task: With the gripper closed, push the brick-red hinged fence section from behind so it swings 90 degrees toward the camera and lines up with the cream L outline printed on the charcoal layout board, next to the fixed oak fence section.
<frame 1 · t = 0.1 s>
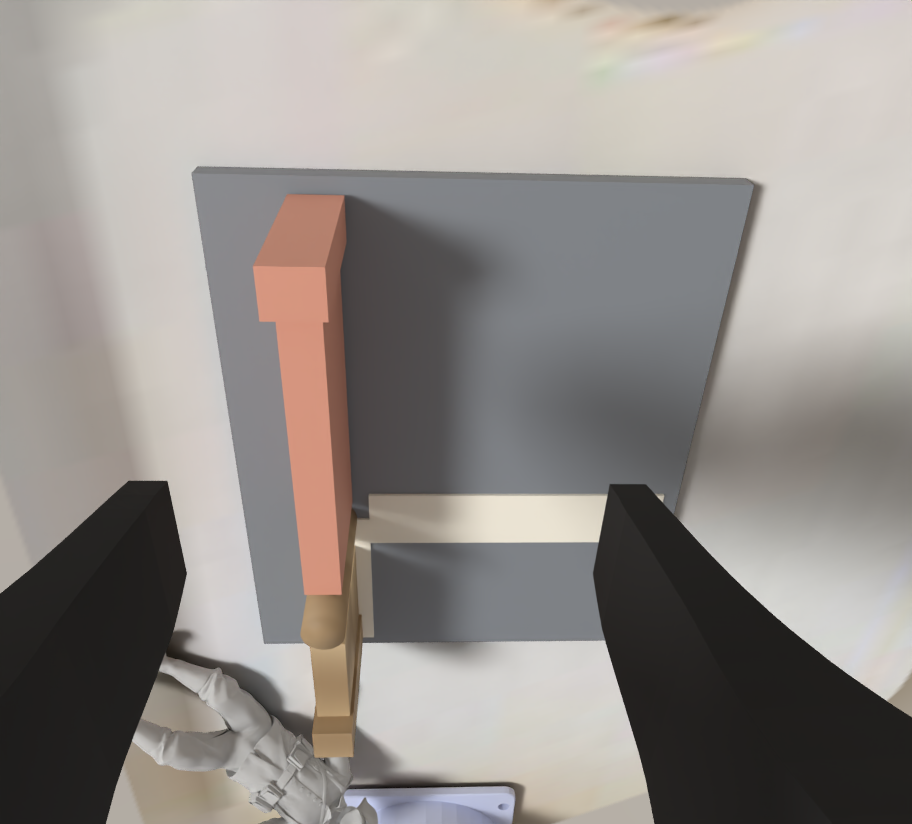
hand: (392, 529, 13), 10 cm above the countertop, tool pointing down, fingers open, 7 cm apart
soldier figure: (260, 705, 31), on the countertop
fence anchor: (343, 584, 26), resting on layout board
fence panel: (318, 410, 20), point 3 cm above the countertop, hinge at 0.0°
layout board: (463, 444, 24), on the countertop
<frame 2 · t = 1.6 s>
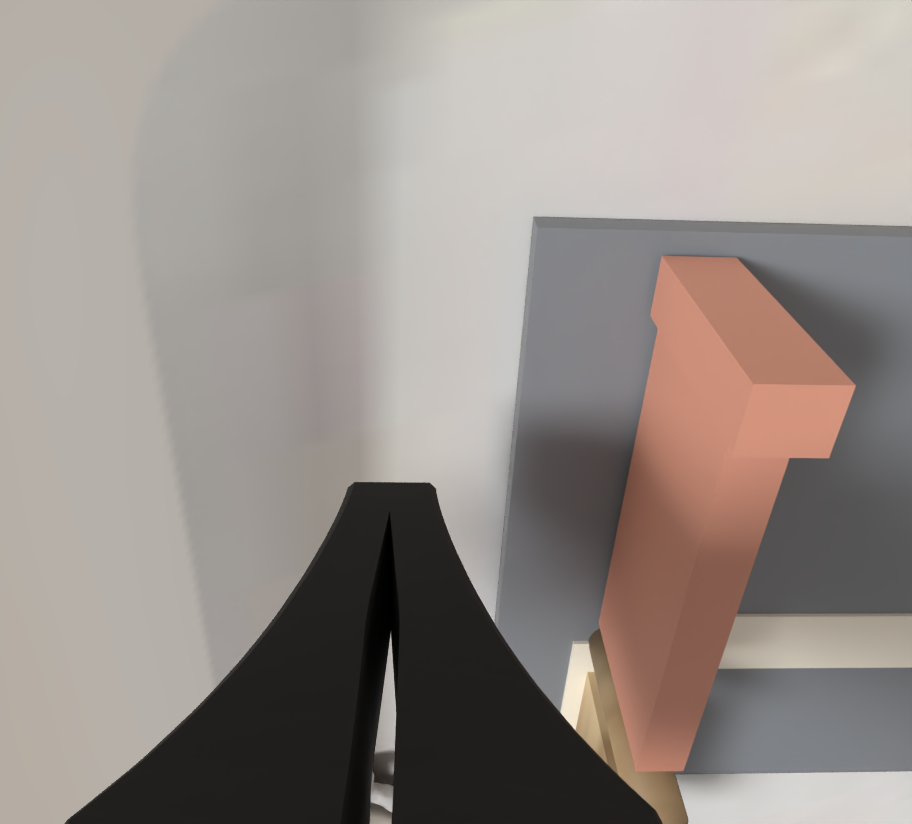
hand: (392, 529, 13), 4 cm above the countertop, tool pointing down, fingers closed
soldier figure: (470, 823, 26), on the countertop
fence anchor: (595, 713, 22), resting on layout board
fence panel: (682, 540, 15), point 3 cm above the countertop, hinge at 0.0°
layout board: (777, 553, 19), on the countertop
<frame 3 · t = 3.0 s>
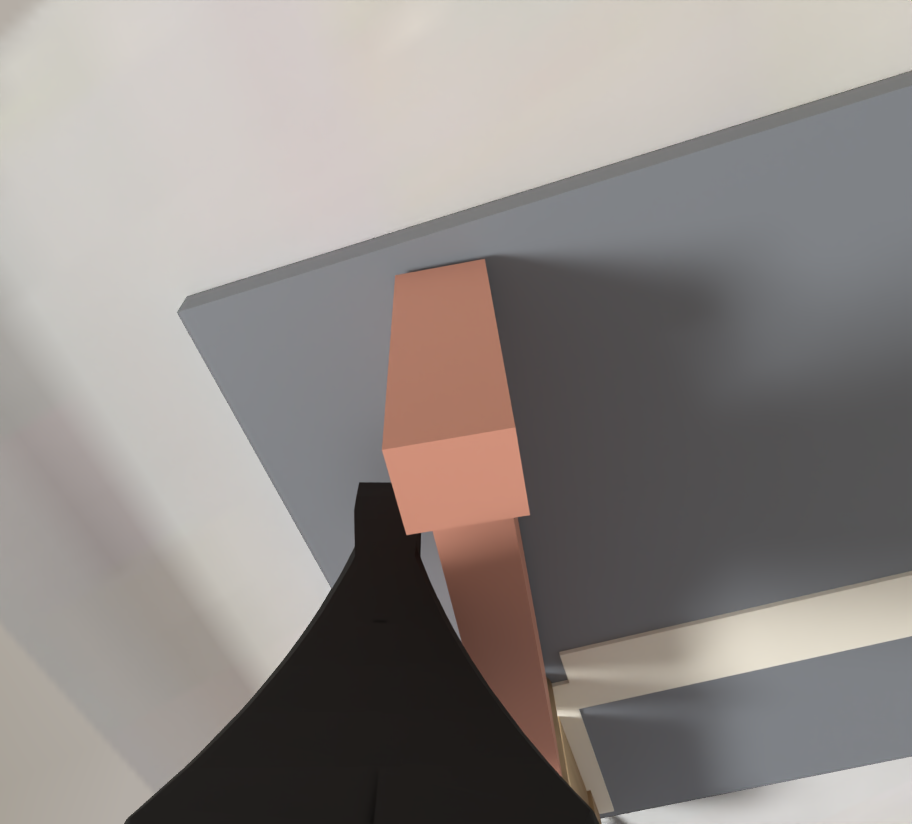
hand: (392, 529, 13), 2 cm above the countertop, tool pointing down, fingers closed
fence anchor: (555, 761, 19), resting on layout board
fence panel: (498, 597, 12), point 3 cm above the countertop, hinge at 6.8°, touching gripper
layout board: (676, 553, 16), on the countertop
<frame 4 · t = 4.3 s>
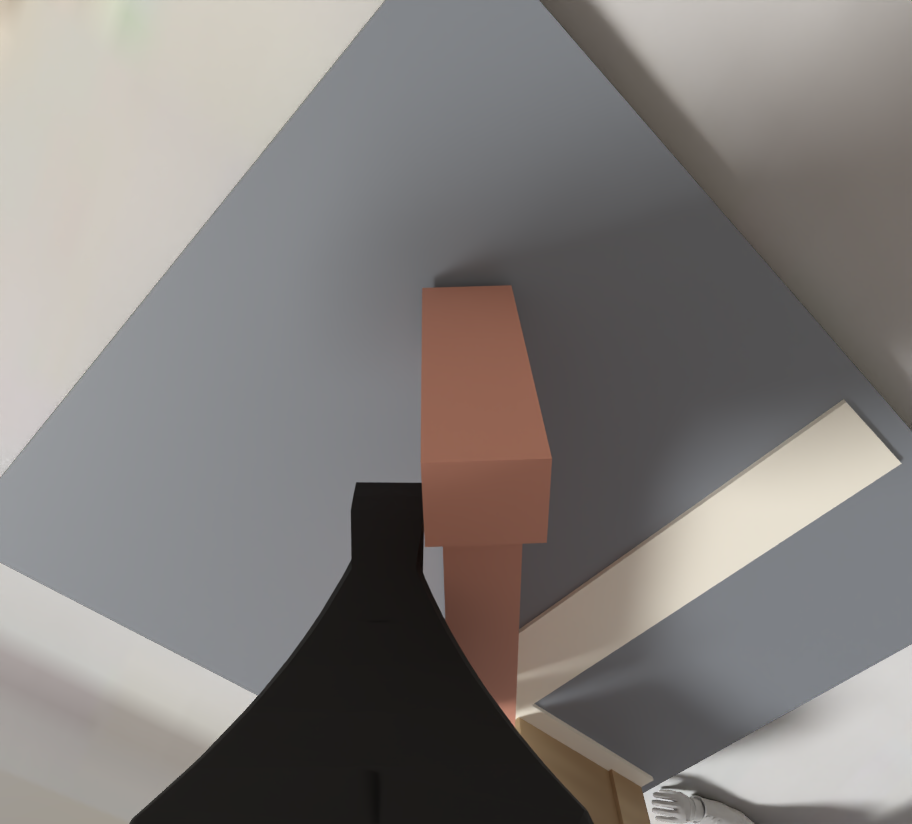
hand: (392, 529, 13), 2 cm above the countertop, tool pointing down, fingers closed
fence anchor: (556, 754, 19), resting on layout board
fence panel: (475, 614, 13), point 3 cm above the countertop, hinge at 45.2°, touching gripper
layout board: (518, 537, 16), on the countertop
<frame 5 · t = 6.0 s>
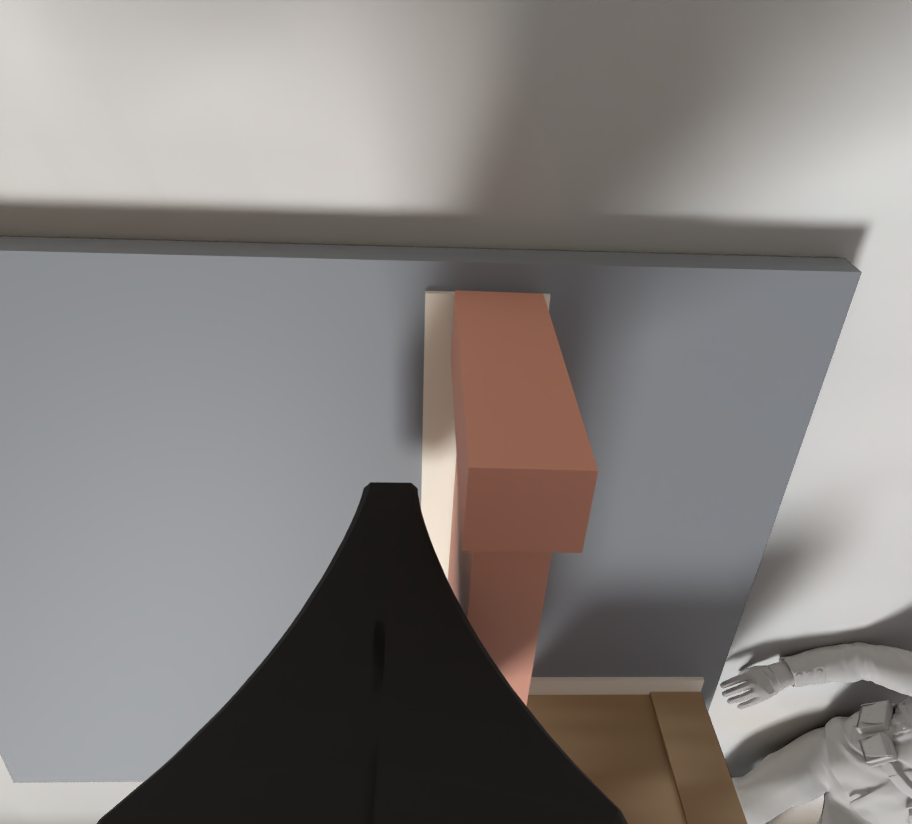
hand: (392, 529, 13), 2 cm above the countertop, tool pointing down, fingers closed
soldier figure: (820, 718, 20), on the countertop
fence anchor: (586, 704, 18), resting on layout board
fence panel: (485, 617, 13), point 3 cm above the countertop, hinge at 90.9°, touching gripper
layout board: (348, 561, 16), on the countertop
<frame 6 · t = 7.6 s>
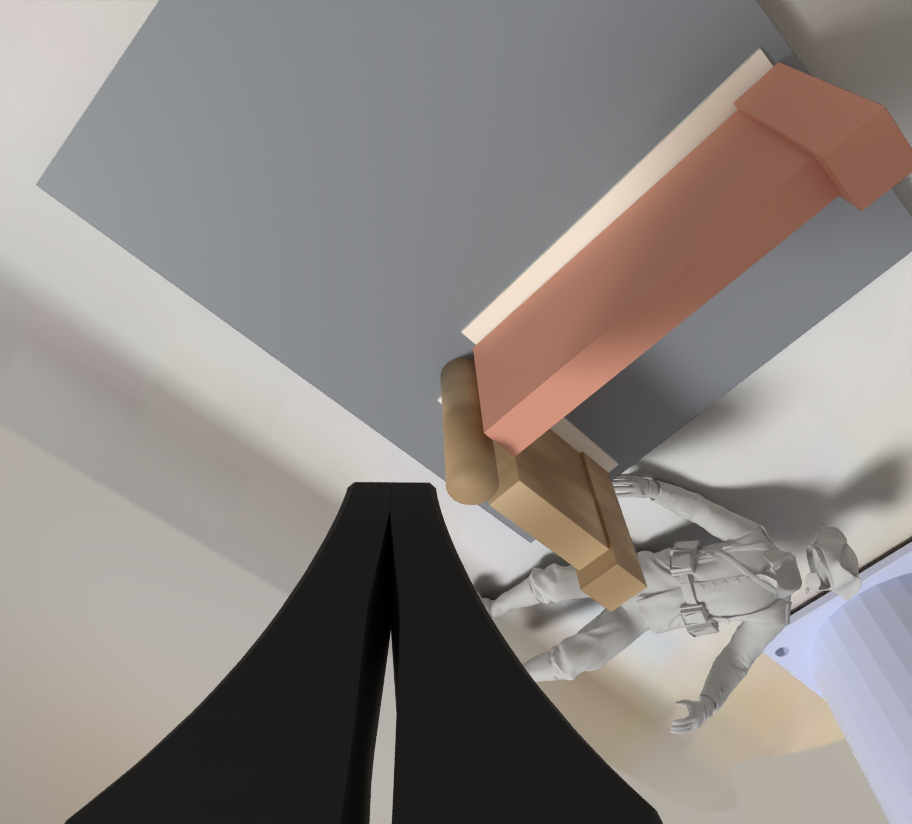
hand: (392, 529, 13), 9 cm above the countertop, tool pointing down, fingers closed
soldier figure: (627, 554, 27), on the countertop
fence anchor: (535, 435, 22), resting on layout board
fence panel: (649, 271, 17), point 3 cm above the countertop, hinge at 91.0°
layout board: (499, 205, 19), on the countertop
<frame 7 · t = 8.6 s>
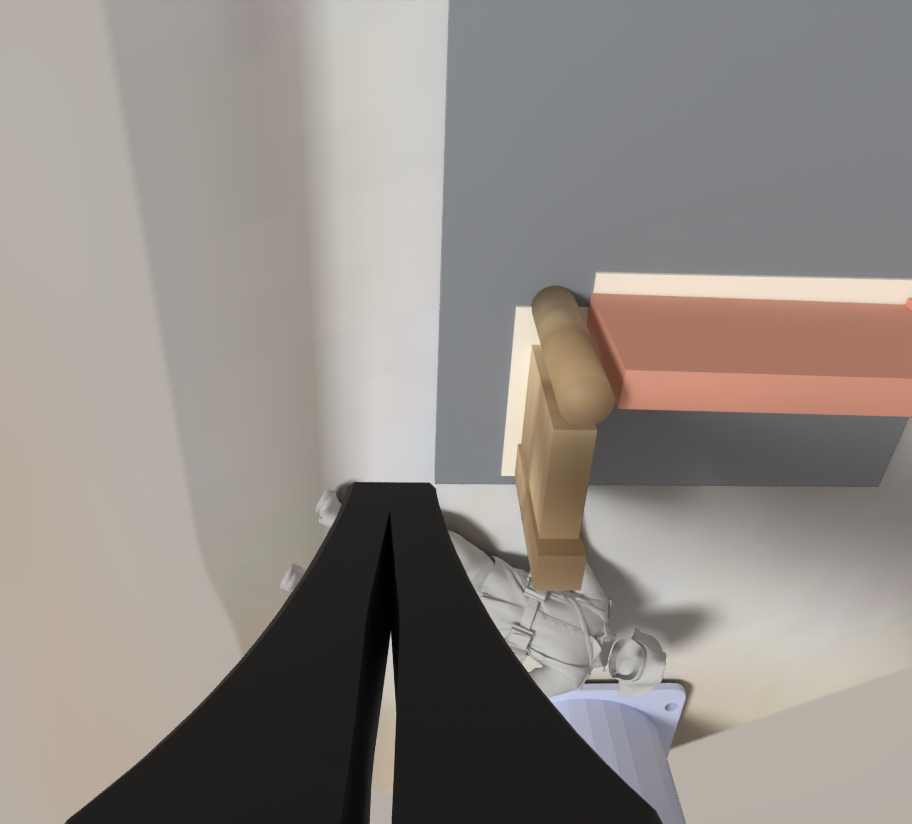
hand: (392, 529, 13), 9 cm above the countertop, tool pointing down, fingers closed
soldier figure: (475, 551, 26), on the countertop
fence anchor: (542, 402, 22), resting on layout board
fence panel: (803, 358, 19), point 3 cm above the countertop, hinge at 91.0°
layout board: (715, 210, 20), on the countertop
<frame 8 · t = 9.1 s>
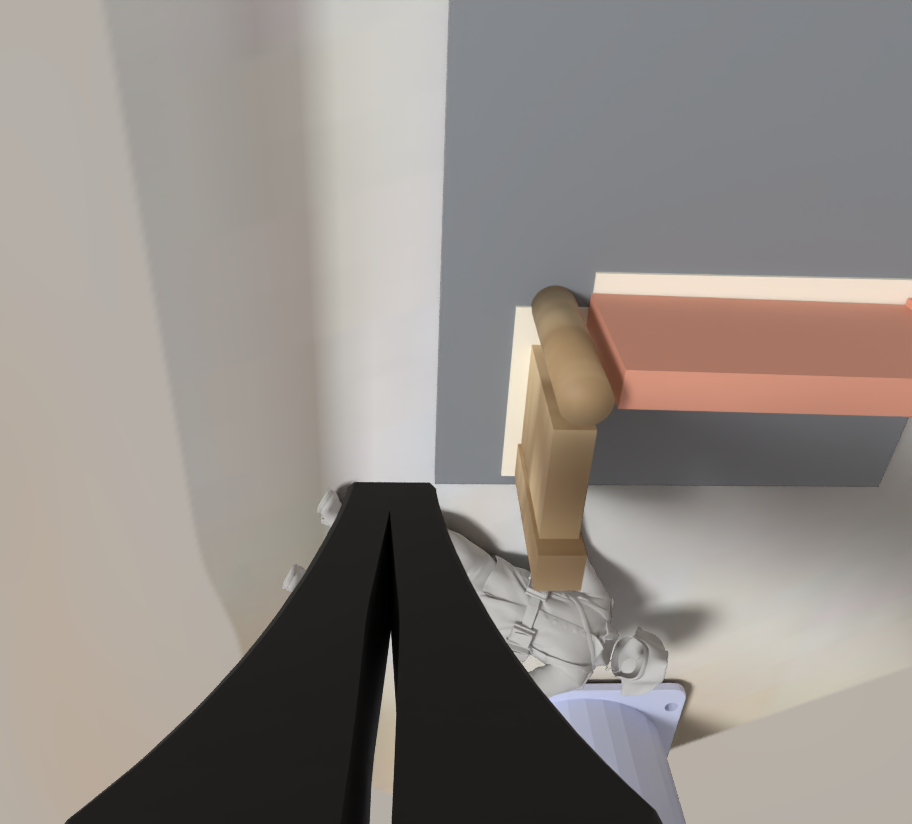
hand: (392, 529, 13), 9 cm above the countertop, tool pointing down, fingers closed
soldier figure: (477, 551, 26), on the countertop
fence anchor: (542, 402, 22), resting on layout board
fence panel: (803, 358, 19), point 3 cm above the countertop, hinge at 91.0°
layout board: (715, 210, 20), on the countertop
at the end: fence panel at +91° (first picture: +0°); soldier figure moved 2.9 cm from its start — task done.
